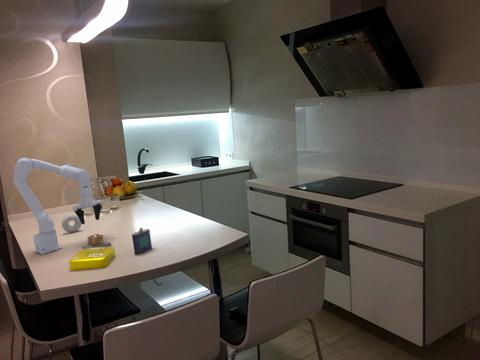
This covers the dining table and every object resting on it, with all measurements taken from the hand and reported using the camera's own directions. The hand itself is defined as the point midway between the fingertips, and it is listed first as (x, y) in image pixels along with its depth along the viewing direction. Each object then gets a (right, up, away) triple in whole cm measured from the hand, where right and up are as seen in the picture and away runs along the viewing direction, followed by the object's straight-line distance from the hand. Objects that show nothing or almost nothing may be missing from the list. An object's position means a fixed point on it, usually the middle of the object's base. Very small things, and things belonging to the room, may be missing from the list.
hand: (90, 221), depth 199 cm
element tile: (+12, -15, -28) cm, 34 cm away
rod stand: (+7, -11, -10) cm, 16 cm away
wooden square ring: (+6, -9, -10) cm, 15 cm away
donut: (-16, -8, +19) cm, 26 cm away
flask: (+31, -11, -20) cm, 38 cm away
